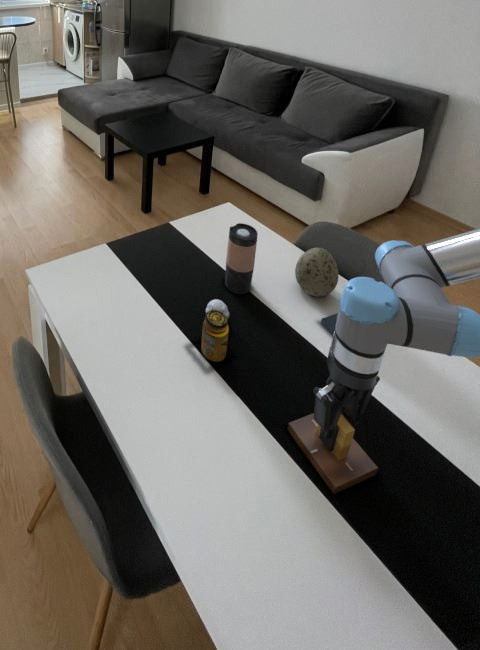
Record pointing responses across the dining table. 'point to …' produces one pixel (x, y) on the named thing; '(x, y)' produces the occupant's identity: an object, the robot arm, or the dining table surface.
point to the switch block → (329, 323)
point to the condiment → (215, 335)
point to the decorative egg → (317, 272)
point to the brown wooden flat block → (331, 457)
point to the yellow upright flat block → (342, 438)
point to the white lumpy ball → (217, 307)
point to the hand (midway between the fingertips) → (332, 441)
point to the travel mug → (240, 258)
